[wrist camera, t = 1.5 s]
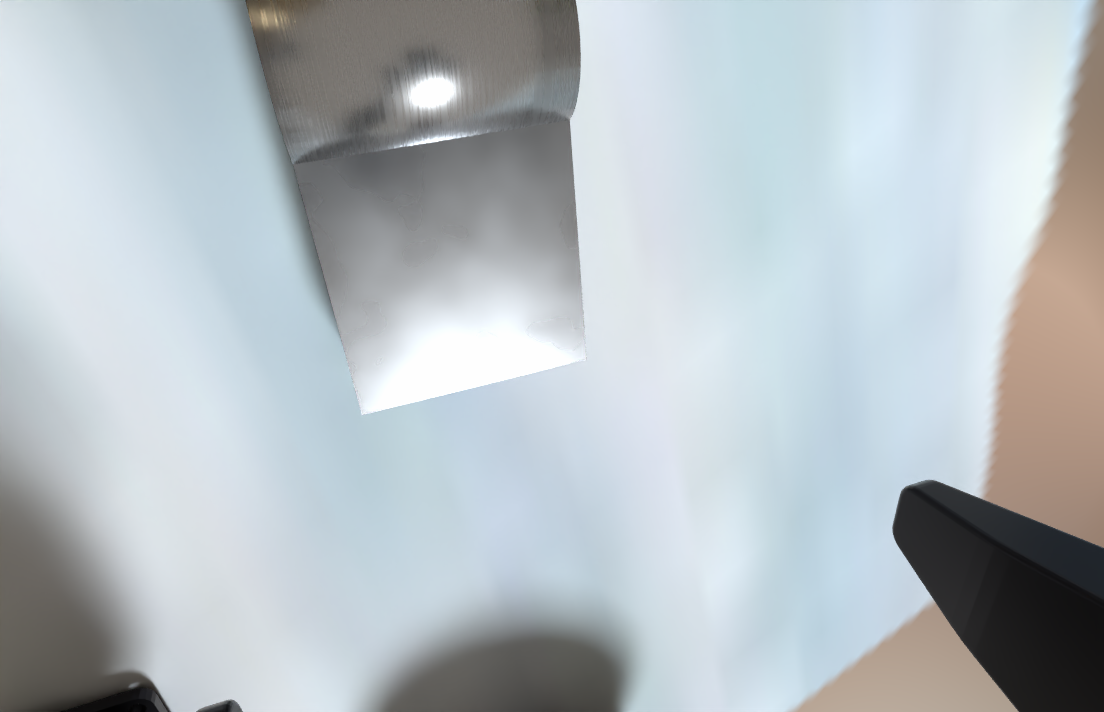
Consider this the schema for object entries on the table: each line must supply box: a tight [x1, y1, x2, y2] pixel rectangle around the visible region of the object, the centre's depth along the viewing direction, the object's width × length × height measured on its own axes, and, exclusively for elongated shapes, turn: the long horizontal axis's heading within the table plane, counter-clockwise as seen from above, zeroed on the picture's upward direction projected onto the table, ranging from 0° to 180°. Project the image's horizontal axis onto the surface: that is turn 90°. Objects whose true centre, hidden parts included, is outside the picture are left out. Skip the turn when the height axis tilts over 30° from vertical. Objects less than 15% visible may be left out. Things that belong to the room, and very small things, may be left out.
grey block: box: [246, 0, 587, 415], centre depth 16 cm, size 10×6×4 cm, turn 5°
